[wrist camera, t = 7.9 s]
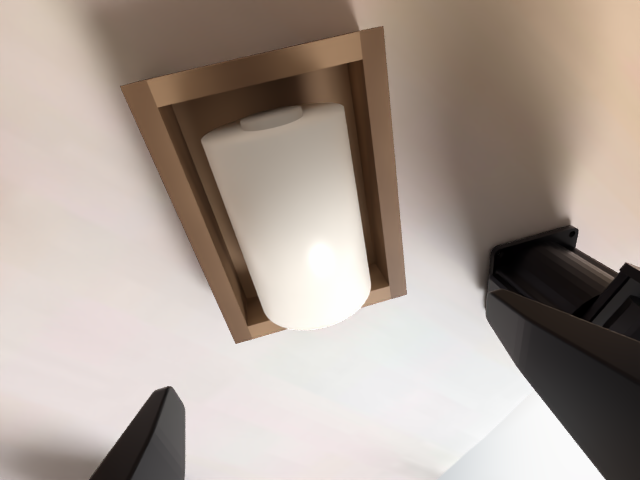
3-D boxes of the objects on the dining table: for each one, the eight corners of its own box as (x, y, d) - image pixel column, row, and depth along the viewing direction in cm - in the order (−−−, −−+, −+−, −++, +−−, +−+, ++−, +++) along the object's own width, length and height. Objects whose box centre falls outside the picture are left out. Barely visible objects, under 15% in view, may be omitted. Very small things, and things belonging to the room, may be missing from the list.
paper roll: (206, 119, 17) (187, 149, 11) (326, 90, 17) (360, 107, 12) (261, 277, 21) (266, 349, 16) (354, 252, 22) (387, 314, 17)
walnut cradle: (359, 30, 17) (383, 26, 14) (387, 266, 24) (406, 294, 21) (141, 80, 16) (120, 86, 13) (236, 308, 23) (235, 344, 20)
